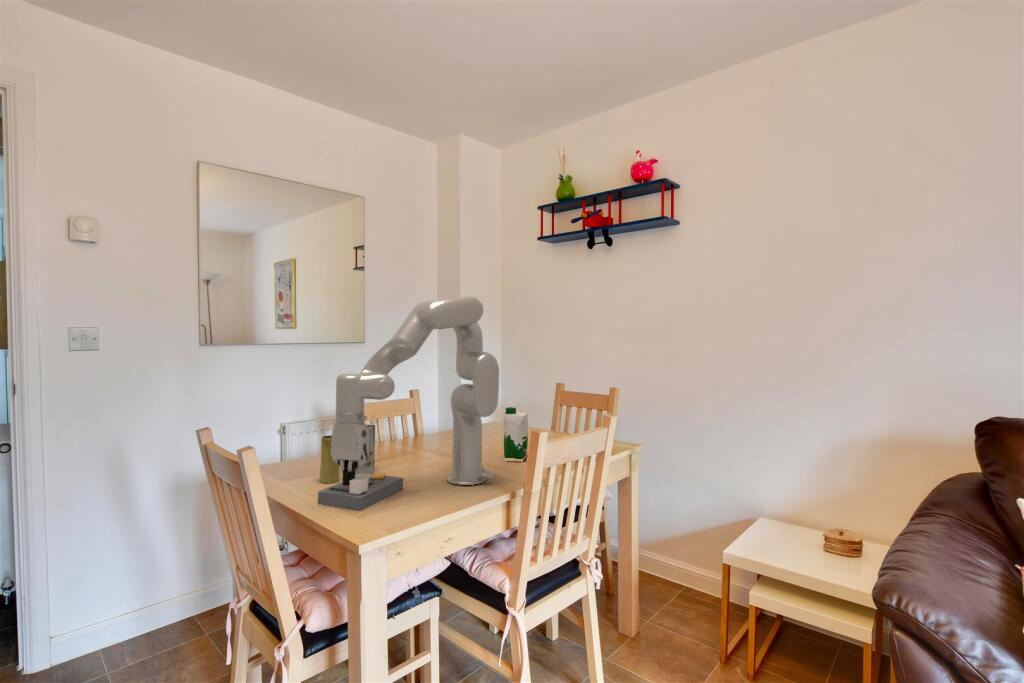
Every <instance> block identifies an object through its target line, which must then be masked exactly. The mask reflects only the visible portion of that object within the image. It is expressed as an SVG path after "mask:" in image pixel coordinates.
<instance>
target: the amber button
mask: <svg viewBox="0 0 1024 683" xmlns="http://www.w3.org/2000/svg"><path fill="white" fill-rule="evenodd" d="M371 475H372V476H371V480H376V481H380V480H382V479H383V478H385V475H386V473H384V472H372V473H371Z"/></svg>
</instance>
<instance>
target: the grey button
mask: <svg viewBox="0 0 1024 683" xmlns="http://www.w3.org/2000/svg"><path fill="white" fill-rule="evenodd" d="M371 474H372V473H371ZM371 474H369V473H360V474H356V475H355V478H357V477H365V478H368V486H369V479H371V476H372V475H371Z"/></svg>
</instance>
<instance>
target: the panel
mask: <svg viewBox="0 0 1024 683" xmlns="http://www.w3.org/2000/svg"><path fill="white" fill-rule="evenodd" d="M369 474H372V473H369ZM349 490H350V485H349V486H346V485H343V481H341V482H339V483H338V482H337V483H335V484H334V485H331V486H329V487H325V488H324V489H320V490H318V491H317V505H320V504H322V505H321V506H326V505H328V507H332V506H334V507H333V508H338V507H340V509H344V508H345V510H350V509H351V510H353V511H356V510H357V511H358V512H362V511H364V510H365V509H367V508H369V507H371V506H373V505H374V503H375V504H377V503H378V501H379V502H381V501H383V500H384V498H385V499H386V497H387V498H389V497H390V495H391V496H393V495H395V494H397V493H399V492H401V491H402V490H404V477H399V476H393V475H386V474H385V478H383V479H382V480H380V481H376V480H371V479H369V486H368V490H367V491H365V492H363V493H361V494H359V495H358V494H352V493H349ZM394 493H395V494H394ZM392 494H393V495H392ZM388 496H389V497H388ZM382 499H383V500H382ZM380 500H381V501H380ZM376 502H377V503H376Z"/></svg>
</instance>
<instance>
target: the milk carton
mask: <svg viewBox="0 0 1024 683" xmlns="http://www.w3.org/2000/svg"><path fill="white" fill-rule="evenodd" d="M503 417H504V419H503V420H504V421H503V428H504V429H503V457H505V458H515V459H523V458H524V457H525V456H526V457H527V452H528V445H529V444H528V443H529V442H528V438H529V433H528V432H529V418H528V417H529V416H528V412H521V411H517V407H512V406H510V407H506V408H505V413H504V416H503Z"/></svg>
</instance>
